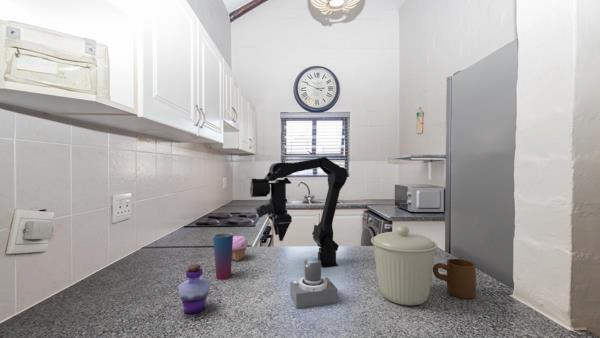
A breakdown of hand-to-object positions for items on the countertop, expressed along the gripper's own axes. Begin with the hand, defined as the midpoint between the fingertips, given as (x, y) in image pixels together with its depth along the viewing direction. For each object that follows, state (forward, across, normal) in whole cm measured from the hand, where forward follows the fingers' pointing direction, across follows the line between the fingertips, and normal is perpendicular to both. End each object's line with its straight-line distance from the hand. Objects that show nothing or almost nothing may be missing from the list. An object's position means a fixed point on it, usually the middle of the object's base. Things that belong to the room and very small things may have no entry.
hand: (278, 237), depth 100 cm
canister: (+13, +30, +32) cm, 46 cm away
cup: (+13, 0, -20) cm, 24 cm away
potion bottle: (+13, +21, -27) cm, 37 cm away
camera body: (+12, +24, +6) cm, 28 cm away
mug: (+13, +32, +48) cm, 59 cm away
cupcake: (+13, -18, -15) cm, 27 cm away
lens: (+8, +24, +6) cm, 26 cm away
